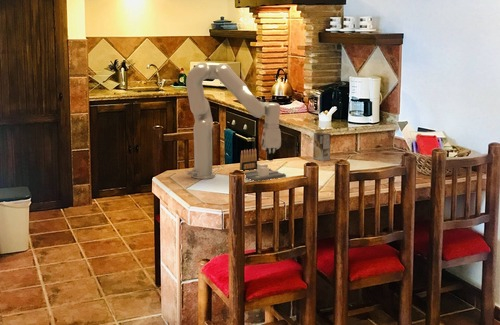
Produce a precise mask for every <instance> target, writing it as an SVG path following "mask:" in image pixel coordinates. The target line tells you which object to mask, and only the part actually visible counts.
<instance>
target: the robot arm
mask: <svg viewBox="0 0 500 325" xmlns="http://www.w3.org/2000/svg"><path fill="white" fill-rule="evenodd" d="M207 79H209V80H219V82H220V83H222V85H223V86H224V88H227V91H229V92H230V94H232V95H233V96H234V98H235V99H236V100H238V102H239V103H240V104H241V105H242V106H243V107H244V108H245V109H246V111H248V113H249V114H250V115H251V116H253V117H254V118H259V119H260V118H262V117H264V124H263V125H262V126H263V127H262V128H263V130H262V134H261V144H260V145H261V150H262V151H265V152H266V154H267V155H266V160H267V161H270V162H272V161H273V160H274V154H275V153H276V150H279V149H280V148H281V147H282V146H281V145H282V134H281V129H280V112H281V105H280V104H279V103H278V102H264V101H260V100H258V98H256V96H255V95H254V94H253V93H252V92H251V91H250V89H249V87H248V85H247V84H246V83H245V81H243V80H242V79H241V78H240V77H239V76H238V75H237V74H236V72H235V71H234V70H233V69H232V67H231V66H230V65H229V64H227V63H214V62H200V63H198V64H196V65H194V66H193V67H192V68H191V70H190V71H189V72H188V73H187V76H186V79H185V85H186V86H185V87H186V90H187V97H188V104H189V108H190V111H191V113H192V114H193V119H194V124H193V130H192V131H193V146H194V147H193V150H194V154H193V155H194V156H193V157H194V159H193V160H194V161H193V162H194V168H192V169H191V170H186V171H185V173H186V175H187V176H188V175H191V177H192V178H194V179H196V180H197V179H198V180H208V179H213V178H215V177H216V173H214V172H213V128H214V121H213V116H212V112H211V106H210V102H209V100H208V99H207V98H206V96H205V91H204V86H203V82H204V81H205V80H207Z"/></svg>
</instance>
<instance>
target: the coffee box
mask: <svg viewBox="0 0 500 325" xmlns="http://www.w3.org/2000/svg"><path fill="white" fill-rule="evenodd" d="M331 135H332V134H331V133H327V132H323V131H322V132H321V131H319V132H318V131H317V132H313V147H312V148H313V149H312V150H313V151H312V159H313V160H315V161H316V160H317V161H321V162H326V161H327V162H329V161H331V143H332V142H331V141H332V140H331V139H332V136H331Z"/></svg>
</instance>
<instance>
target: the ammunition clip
mask: <svg viewBox="0 0 500 325" xmlns="http://www.w3.org/2000/svg"><path fill="white" fill-rule="evenodd" d="M257 157H258V156H257V149H256V147H255V148H252V149H249V150H248V148H247V149H244V150H241V152H240V163H239V171H240V170H243V171H242V172H246V171H245V170H249V171H255V170H254V169H256V170H257V164H258V159H257Z"/></svg>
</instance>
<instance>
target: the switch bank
mask: <svg viewBox="0 0 500 325" xmlns="http://www.w3.org/2000/svg"><path fill="white" fill-rule="evenodd" d="M244 172H245V175H246V178H248V179H247V180H249V179H251V180H250V181H252V180H254V181H256V182H259V181H258V180H262V181H267V180H268V179H269V180H275V179H281V178H286V177H287V176H286V173H282V172H279V170H272V169H271V168H269V176H263V177H260V176H258V172H257V170H250V171H244ZM246 178H245V179H246ZM274 178H275V179H274ZM254 181H253V182H254Z"/></svg>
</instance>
